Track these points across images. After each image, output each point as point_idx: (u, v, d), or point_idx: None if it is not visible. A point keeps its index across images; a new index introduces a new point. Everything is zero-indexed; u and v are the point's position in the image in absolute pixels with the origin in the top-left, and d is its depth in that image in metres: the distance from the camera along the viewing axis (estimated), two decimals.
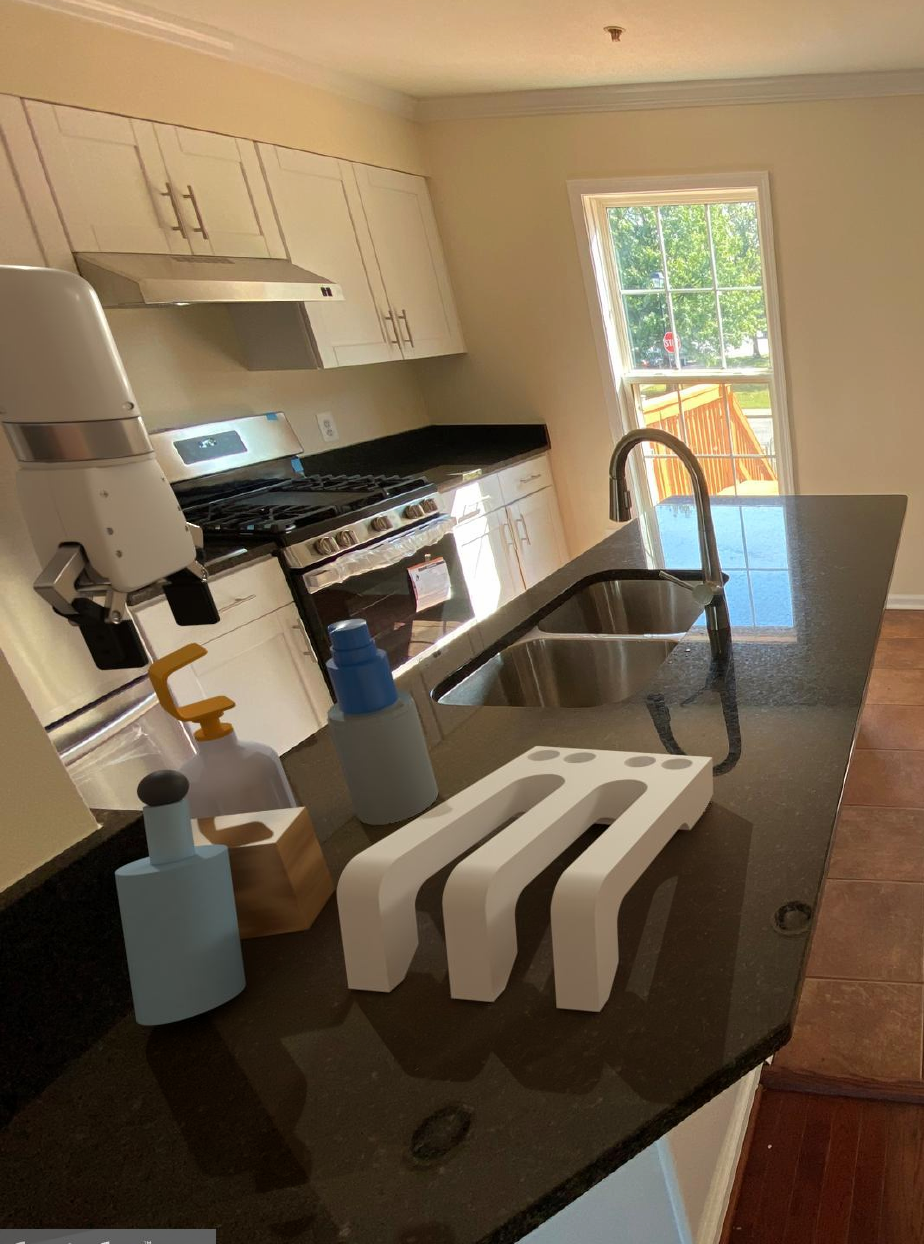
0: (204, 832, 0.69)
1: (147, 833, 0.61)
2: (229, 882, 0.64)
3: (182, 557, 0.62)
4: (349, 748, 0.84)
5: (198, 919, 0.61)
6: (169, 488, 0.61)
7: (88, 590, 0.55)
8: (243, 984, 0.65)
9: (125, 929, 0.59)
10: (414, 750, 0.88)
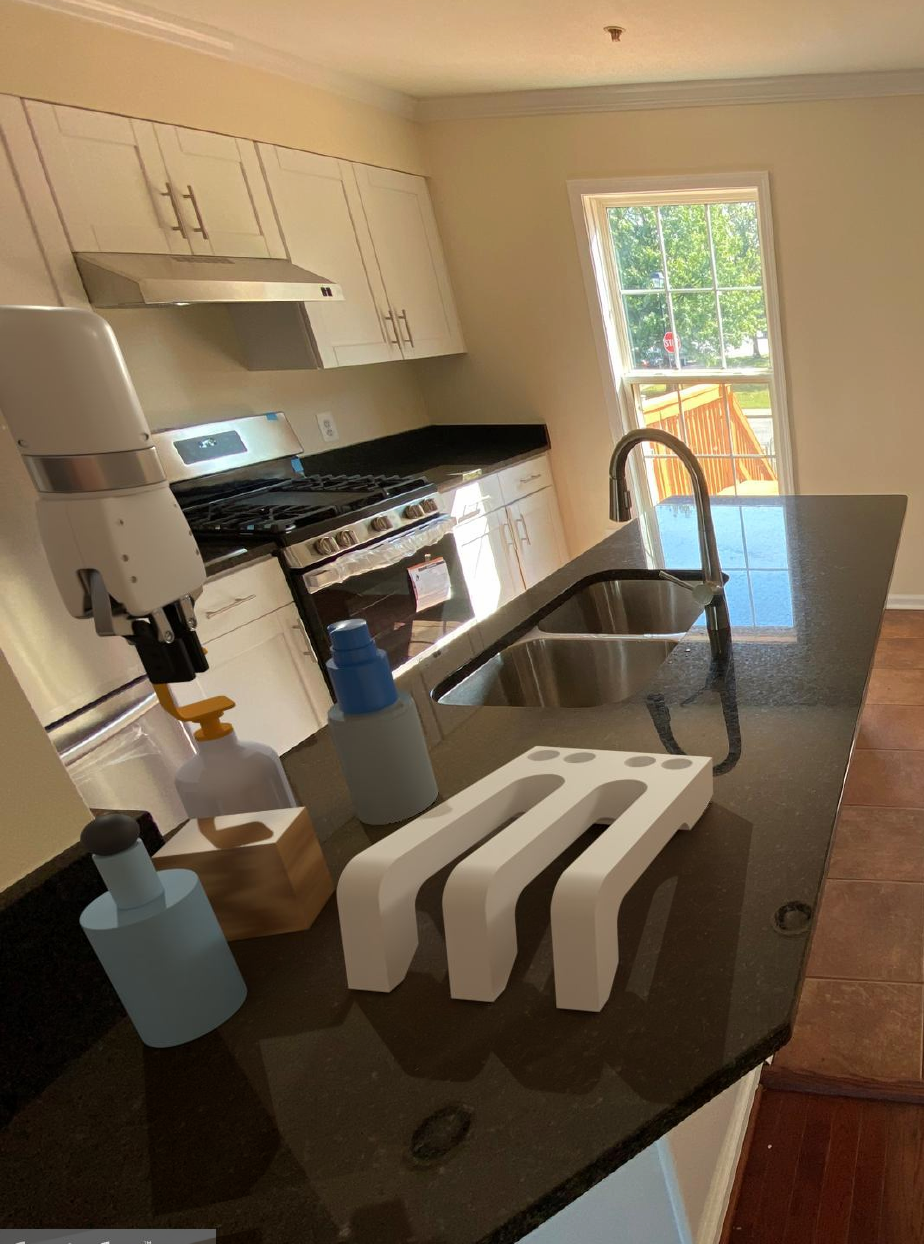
0: (204, 832, 0.69)
1: (104, 881, 0.56)
2: (208, 912, 0.61)
3: (193, 580, 0.64)
4: (349, 748, 0.84)
5: (182, 958, 0.59)
6: (181, 514, 0.63)
7: (130, 618, 0.60)
8: (244, 993, 0.65)
9: (106, 971, 0.57)
10: (414, 750, 0.88)
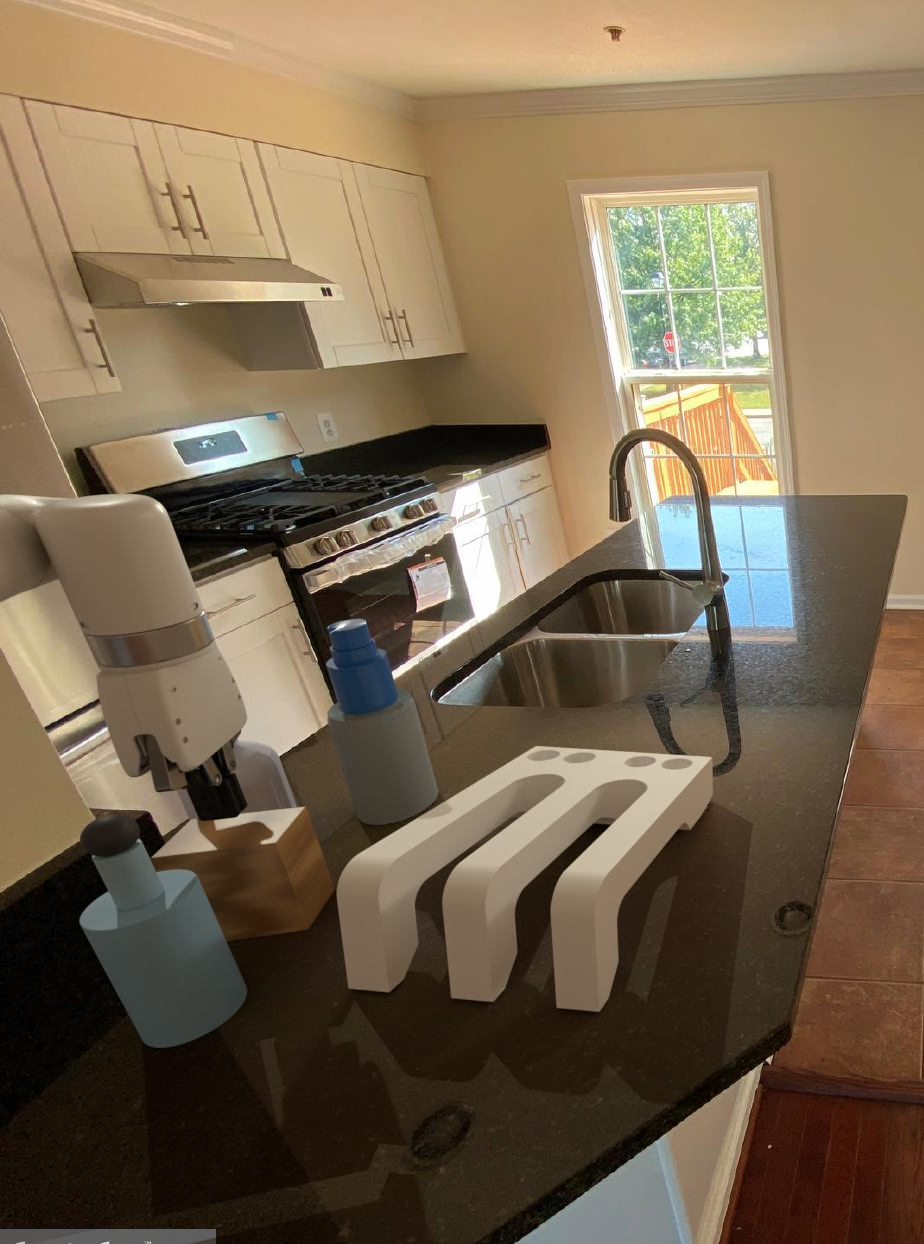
0: (204, 832, 0.69)
1: (104, 882, 0.56)
2: (208, 912, 0.61)
3: (236, 725, 0.68)
4: (349, 748, 0.84)
5: (182, 959, 0.59)
6: (225, 664, 0.67)
7: None
8: (244, 994, 0.65)
9: (106, 972, 0.57)
10: (414, 750, 0.88)
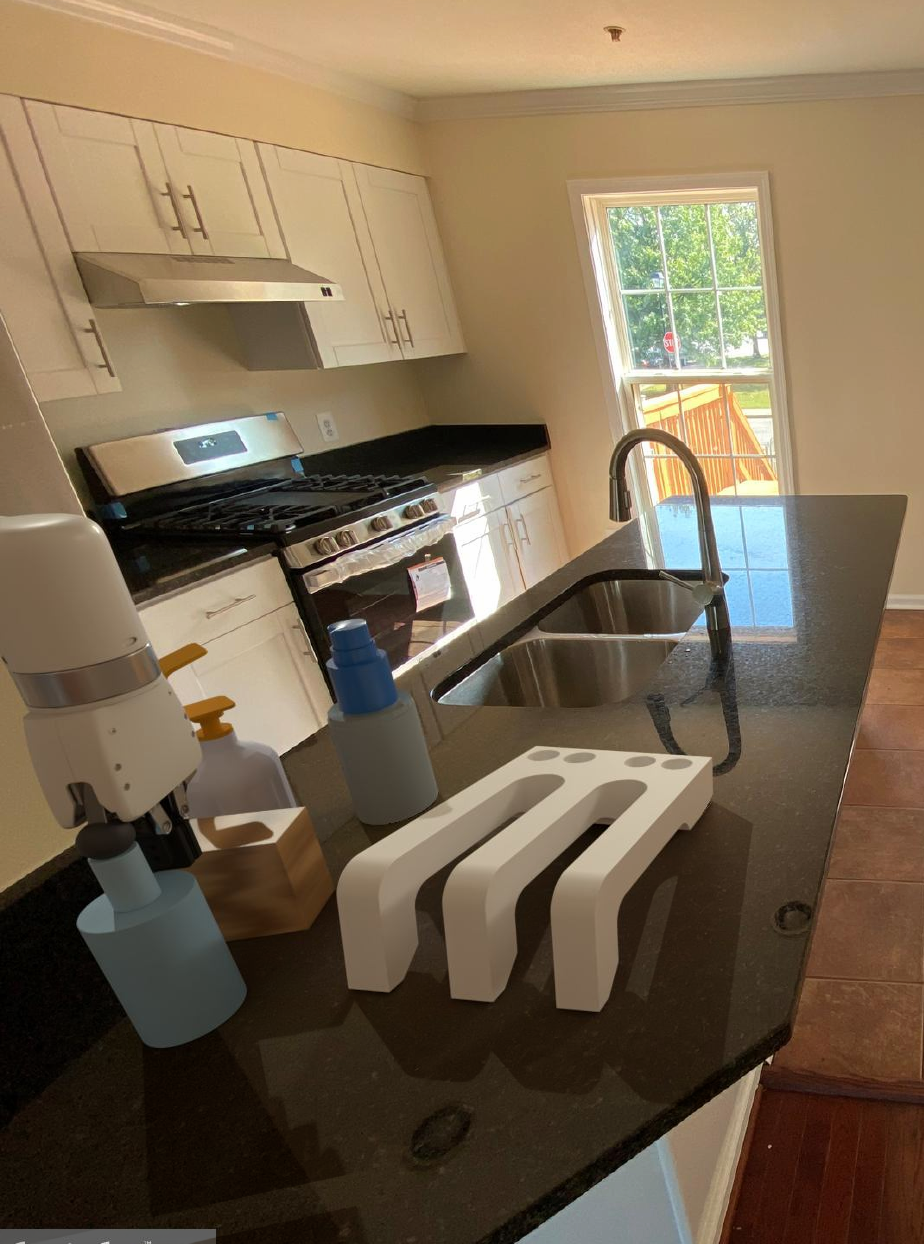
0: (204, 832, 0.69)
1: (101, 884, 0.56)
2: (206, 914, 0.61)
3: (188, 765, 0.62)
4: (349, 748, 0.84)
5: (180, 960, 0.59)
6: (176, 699, 0.61)
7: None
8: (244, 993, 0.65)
9: (104, 973, 0.57)
10: (414, 750, 0.88)
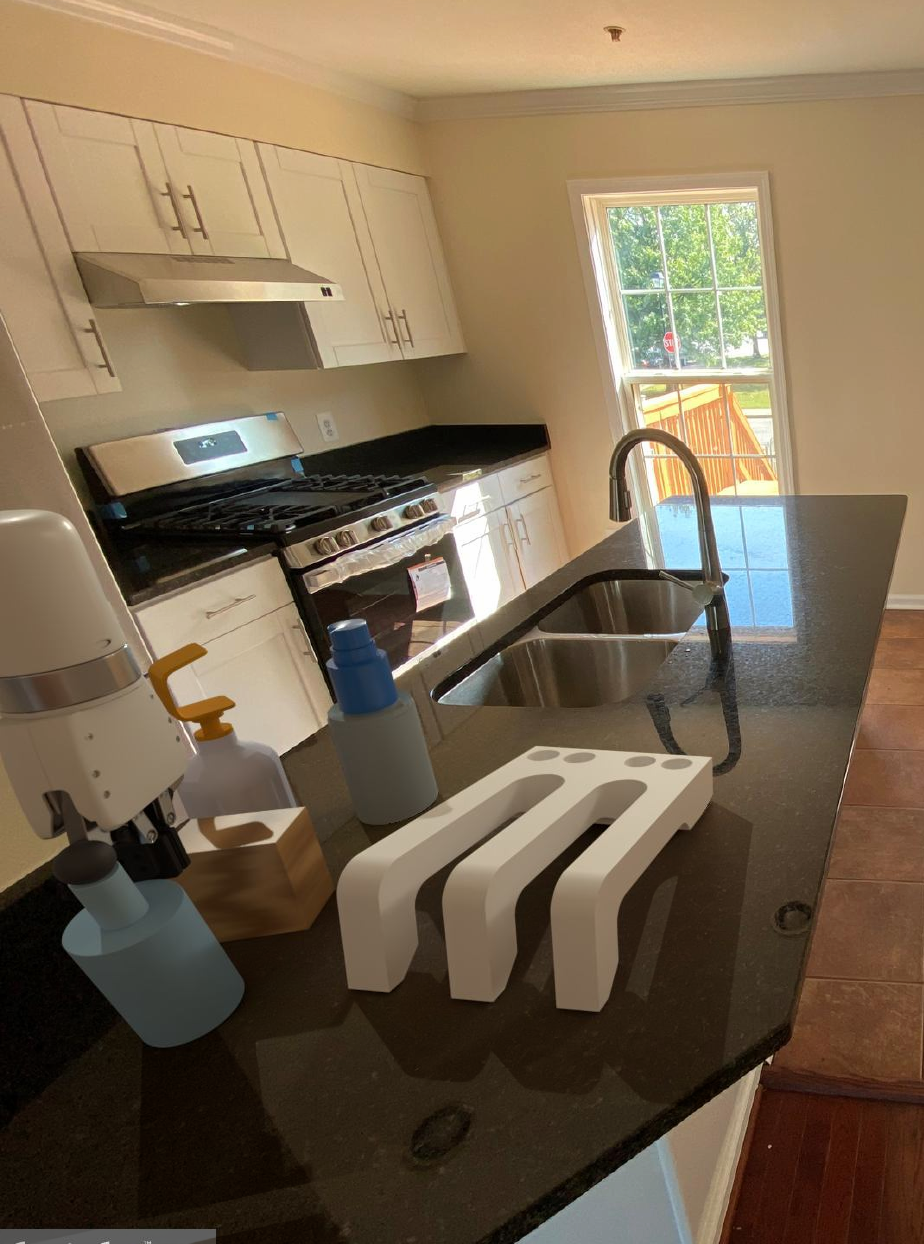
0: (204, 832, 0.69)
1: (84, 906, 0.54)
2: (197, 925, 0.59)
3: (174, 771, 0.60)
4: (349, 748, 0.84)
5: (174, 974, 0.58)
6: (159, 703, 0.59)
7: None
8: (242, 990, 0.64)
9: None
10: (414, 750, 0.88)
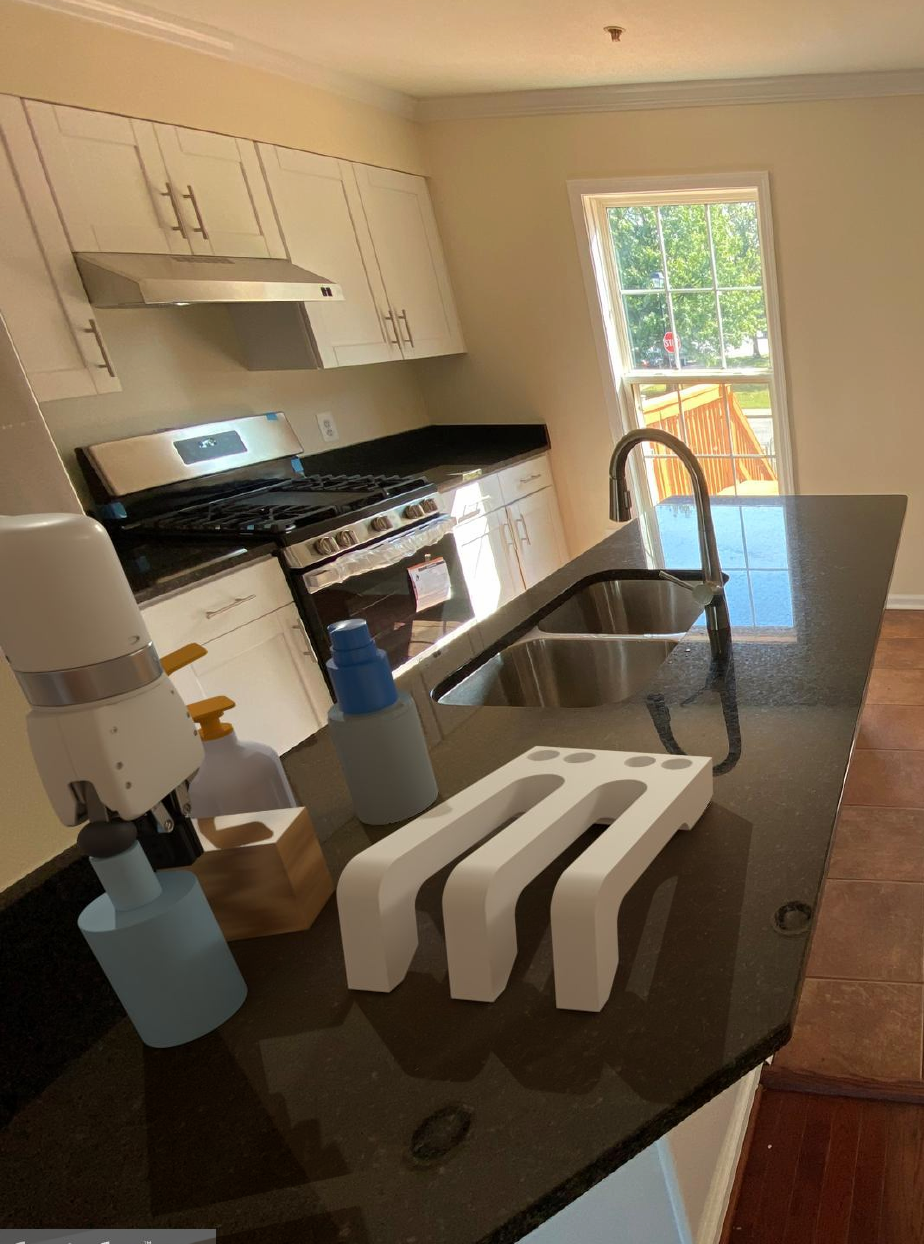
0: (204, 832, 0.69)
1: (102, 883, 0.56)
2: (206, 913, 0.61)
3: (191, 764, 0.62)
4: (349, 748, 0.84)
5: (180, 960, 0.59)
6: (178, 698, 0.61)
7: None
8: (244, 993, 0.65)
9: (105, 972, 0.57)
10: (414, 750, 0.88)
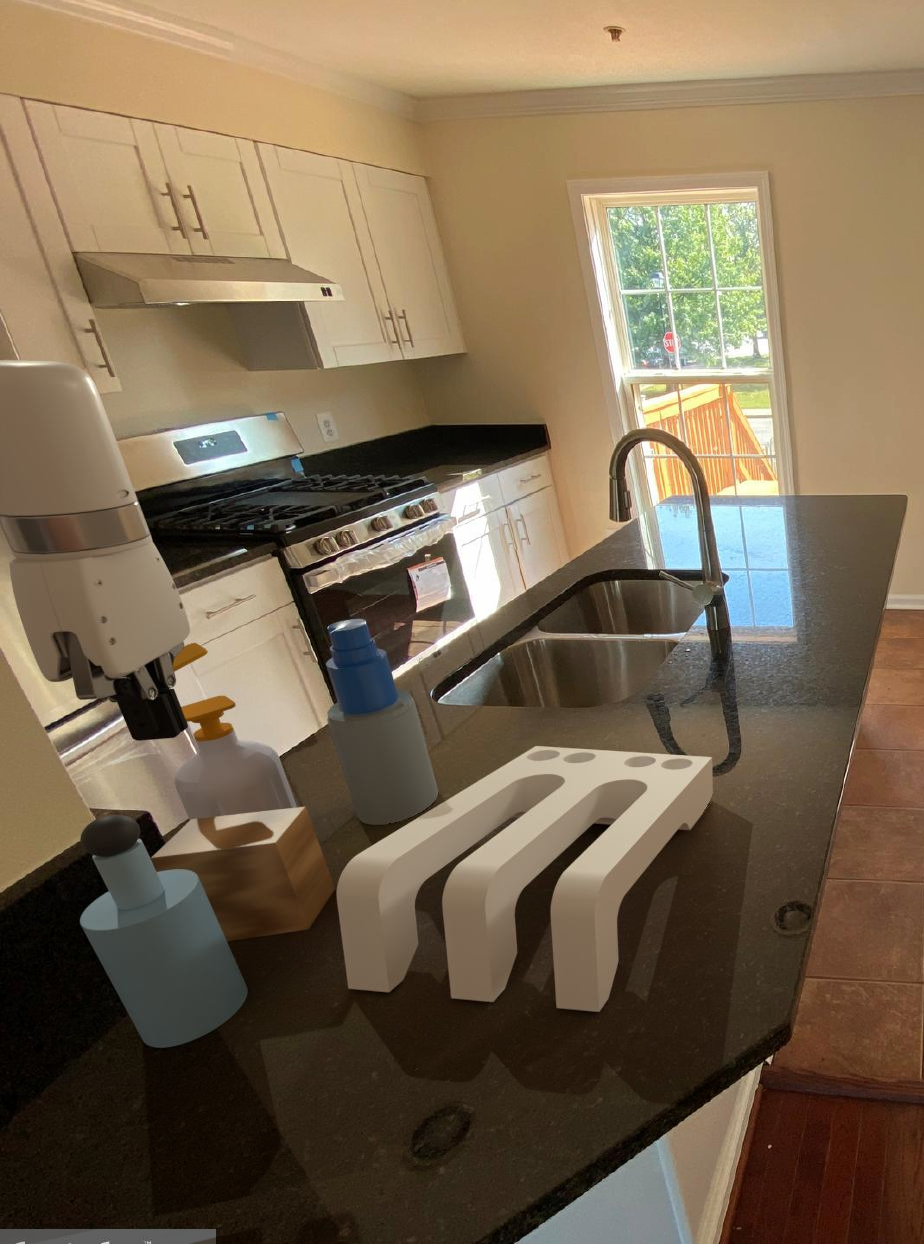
0: (204, 832, 0.69)
1: (105, 882, 0.56)
2: (208, 913, 0.61)
3: (175, 635, 0.62)
4: (349, 748, 0.84)
5: (181, 959, 0.59)
6: (164, 567, 0.61)
7: None
8: (245, 994, 0.65)
9: (106, 971, 0.57)
10: (414, 750, 0.88)
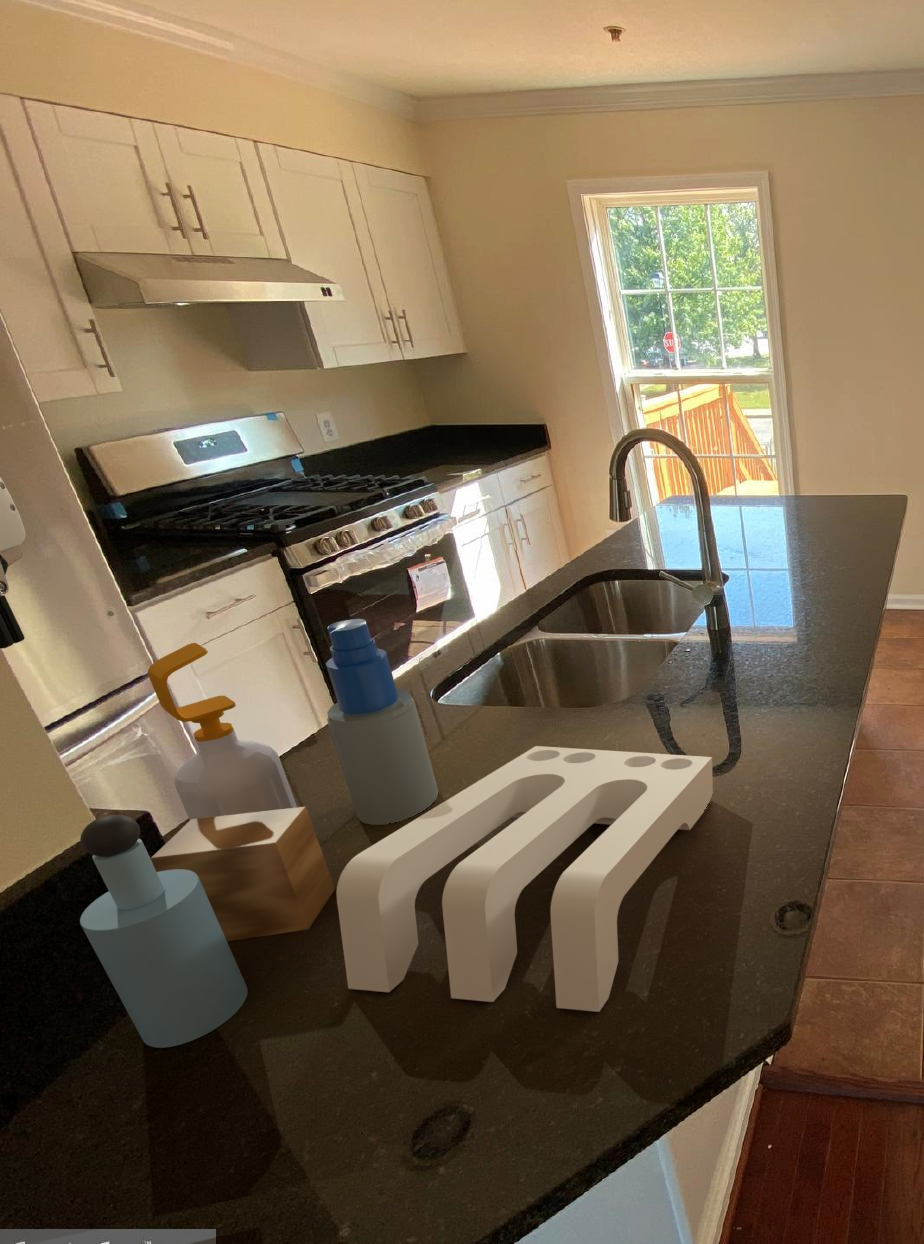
0: (204, 832, 0.69)
1: (105, 882, 0.56)
2: (208, 913, 0.61)
3: (5, 538, 0.58)
4: (349, 748, 0.84)
5: (181, 959, 0.59)
6: None
7: None
8: (245, 994, 0.65)
9: (106, 971, 0.57)
10: (414, 750, 0.88)
